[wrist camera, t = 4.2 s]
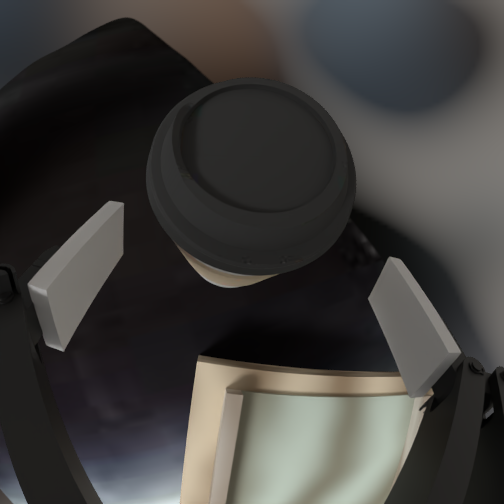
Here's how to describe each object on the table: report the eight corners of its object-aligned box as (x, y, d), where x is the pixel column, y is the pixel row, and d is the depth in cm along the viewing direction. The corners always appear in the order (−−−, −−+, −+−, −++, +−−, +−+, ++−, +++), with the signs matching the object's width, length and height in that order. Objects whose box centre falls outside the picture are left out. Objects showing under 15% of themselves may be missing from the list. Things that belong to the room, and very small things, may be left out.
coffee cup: (280, 195, 26) (353, 71, 12) (287, 299, 24) (401, 259, 9) (176, 193, 25) (154, 53, 10) (173, 301, 22) (120, 262, 8)
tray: (178, 528, 17) (175, 563, 12) (198, 354, 22) (196, 364, 16) (372, 521, 19) (398, 543, 14) (413, 371, 24) (451, 376, 19)
